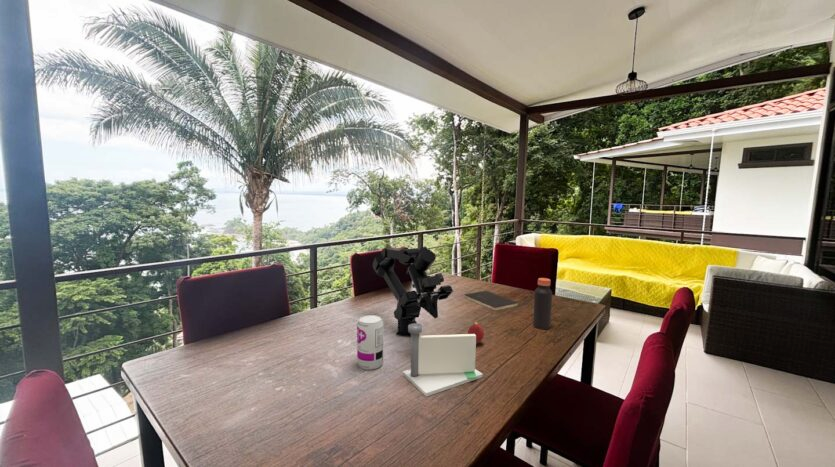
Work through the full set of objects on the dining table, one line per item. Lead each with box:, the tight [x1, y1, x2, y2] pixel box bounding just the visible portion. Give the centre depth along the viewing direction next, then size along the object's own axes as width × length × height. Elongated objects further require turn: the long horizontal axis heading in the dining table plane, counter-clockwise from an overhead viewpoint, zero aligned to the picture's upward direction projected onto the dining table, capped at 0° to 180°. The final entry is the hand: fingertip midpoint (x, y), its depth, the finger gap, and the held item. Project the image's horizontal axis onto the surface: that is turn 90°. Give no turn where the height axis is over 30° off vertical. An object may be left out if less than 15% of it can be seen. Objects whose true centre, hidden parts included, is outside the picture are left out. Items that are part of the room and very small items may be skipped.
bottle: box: [532, 277, 553, 330], centre depth 141 cm, size 7×7×20 cm
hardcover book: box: [463, 290, 520, 311], centre depth 174 cm, size 16×23×2 cm
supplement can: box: [356, 314, 384, 371], centre depth 108 cm, size 8×8×15 cm
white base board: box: [402, 368, 484, 397], centre depth 103 cm, size 20×14×1 cm
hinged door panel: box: [408, 322, 477, 377], centre depth 101 cm, size 20×4×15 cm, turn 96°
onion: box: [467, 321, 485, 345], centre depth 125 cm, size 6×6×8 cm
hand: (436, 317), depth 115 cm, fingers closed
